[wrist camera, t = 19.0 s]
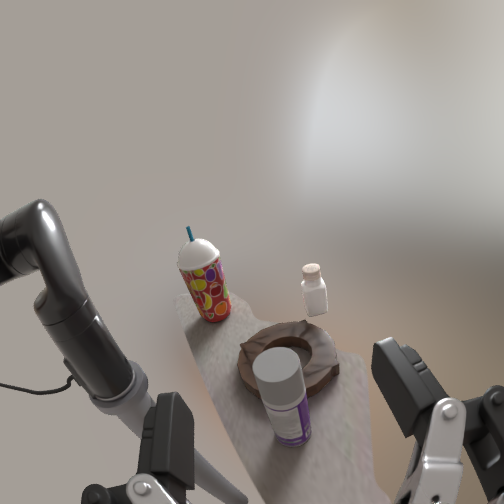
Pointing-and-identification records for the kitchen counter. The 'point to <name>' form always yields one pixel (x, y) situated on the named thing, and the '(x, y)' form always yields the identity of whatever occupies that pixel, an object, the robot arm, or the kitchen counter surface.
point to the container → (283, 394)
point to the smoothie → (204, 278)
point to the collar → (286, 336)
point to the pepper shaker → (314, 290)
